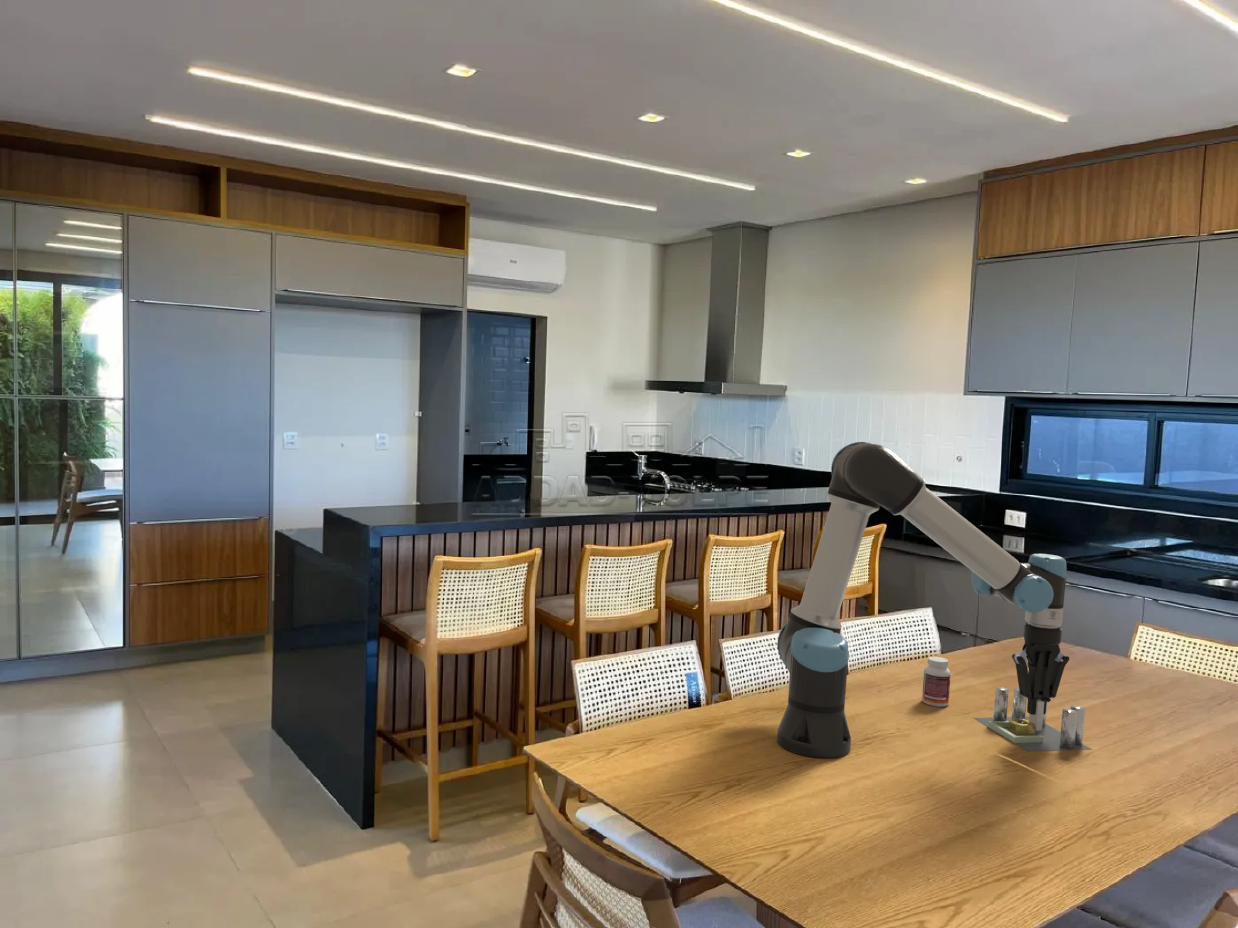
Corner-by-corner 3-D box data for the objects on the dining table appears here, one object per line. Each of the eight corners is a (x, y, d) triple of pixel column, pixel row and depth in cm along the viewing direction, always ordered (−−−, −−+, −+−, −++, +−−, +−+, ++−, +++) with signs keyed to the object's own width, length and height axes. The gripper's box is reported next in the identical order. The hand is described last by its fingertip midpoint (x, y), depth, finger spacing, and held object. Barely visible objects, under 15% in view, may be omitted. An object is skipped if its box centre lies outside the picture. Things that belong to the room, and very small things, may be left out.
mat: (1027, 752, 188) (1027, 750, 188) (973, 719, 207) (973, 717, 207) (1092, 751, 190) (1092, 749, 190) (1032, 718, 210) (1032, 716, 210)
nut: (1019, 737, 195) (1020, 726, 195) (1004, 728, 201) (1005, 717, 200) (1038, 737, 196) (1039, 725, 196) (1022, 728, 201) (1023, 717, 201)
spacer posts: (1040, 750, 188) (1043, 713, 188) (990, 720, 206) (993, 686, 205) (1091, 749, 191) (1094, 712, 190) (1037, 719, 208) (1040, 686, 207)
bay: (1014, 742, 192) (1014, 737, 192) (987, 726, 202) (987, 721, 202) (1043, 741, 193) (1043, 736, 193) (1015, 725, 203) (1015, 720, 203)
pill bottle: (953, 707, 215) (956, 662, 215) (929, 707, 214) (932, 662, 214) (940, 698, 221) (943, 655, 221) (917, 698, 221) (920, 655, 220)
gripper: (1027, 628, 192) (1019, 734, 193) (1080, 628, 194) (1072, 733, 196) (1006, 620, 199) (998, 722, 201) (1057, 620, 202) (1049, 721, 203)
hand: (1035, 727), depth 198 cm, fingers closed
